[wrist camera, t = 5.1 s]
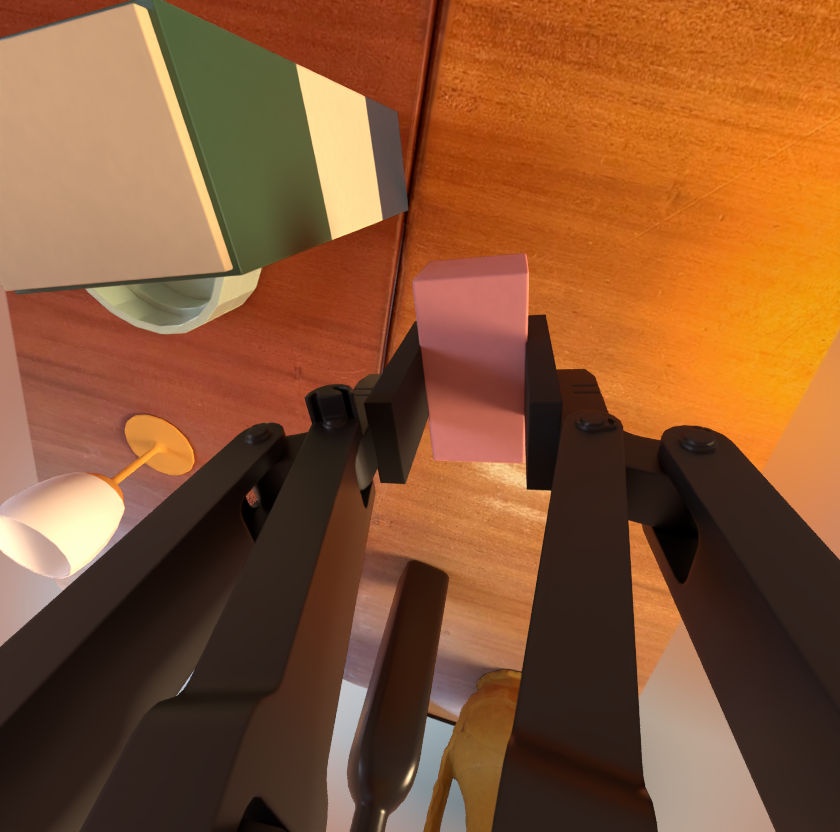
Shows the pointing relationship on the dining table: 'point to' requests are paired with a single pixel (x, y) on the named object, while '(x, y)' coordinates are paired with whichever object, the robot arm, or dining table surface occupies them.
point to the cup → (84, 504)
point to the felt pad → (98, 160)
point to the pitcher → (477, 751)
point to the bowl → (176, 301)
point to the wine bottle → (397, 699)
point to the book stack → (272, 144)
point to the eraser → (474, 355)
